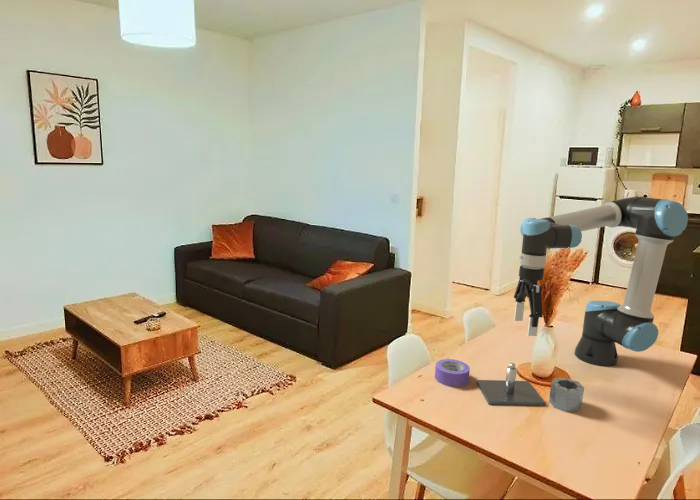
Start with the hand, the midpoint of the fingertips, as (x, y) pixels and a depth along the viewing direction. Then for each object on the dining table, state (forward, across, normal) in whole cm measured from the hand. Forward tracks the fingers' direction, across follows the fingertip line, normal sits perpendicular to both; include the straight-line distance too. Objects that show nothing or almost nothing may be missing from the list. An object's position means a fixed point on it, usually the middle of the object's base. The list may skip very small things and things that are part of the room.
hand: (524, 327), depth 158 cm
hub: (+21, +12, +11) cm, 27 cm away
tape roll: (+22, -3, -22) cm, 31 cm away
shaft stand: (+21, +6, -5) cm, 23 cm away
